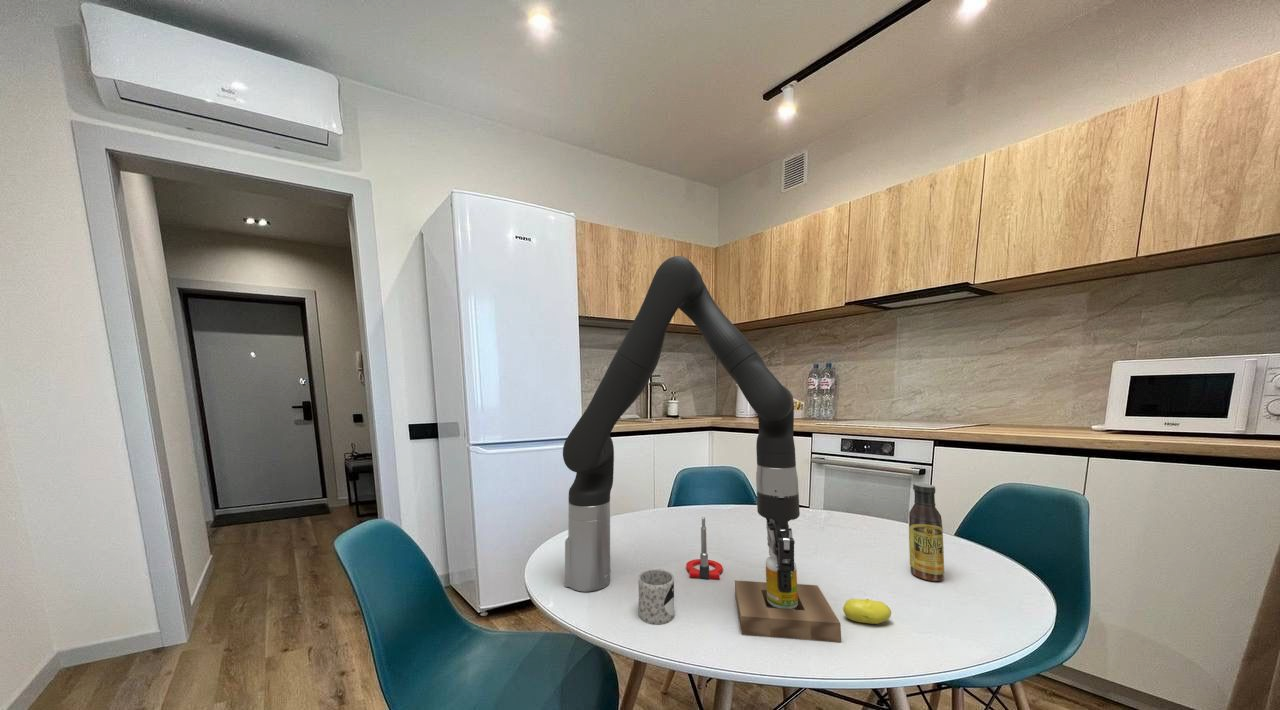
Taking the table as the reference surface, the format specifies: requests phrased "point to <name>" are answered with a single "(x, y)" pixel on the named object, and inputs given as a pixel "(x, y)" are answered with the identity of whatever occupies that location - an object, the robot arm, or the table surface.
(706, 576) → the tow hook
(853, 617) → the yellow potato
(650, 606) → the mug
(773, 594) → the supplement bottle
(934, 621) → the table surface
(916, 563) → the sauce bottle
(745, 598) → the socket plate
